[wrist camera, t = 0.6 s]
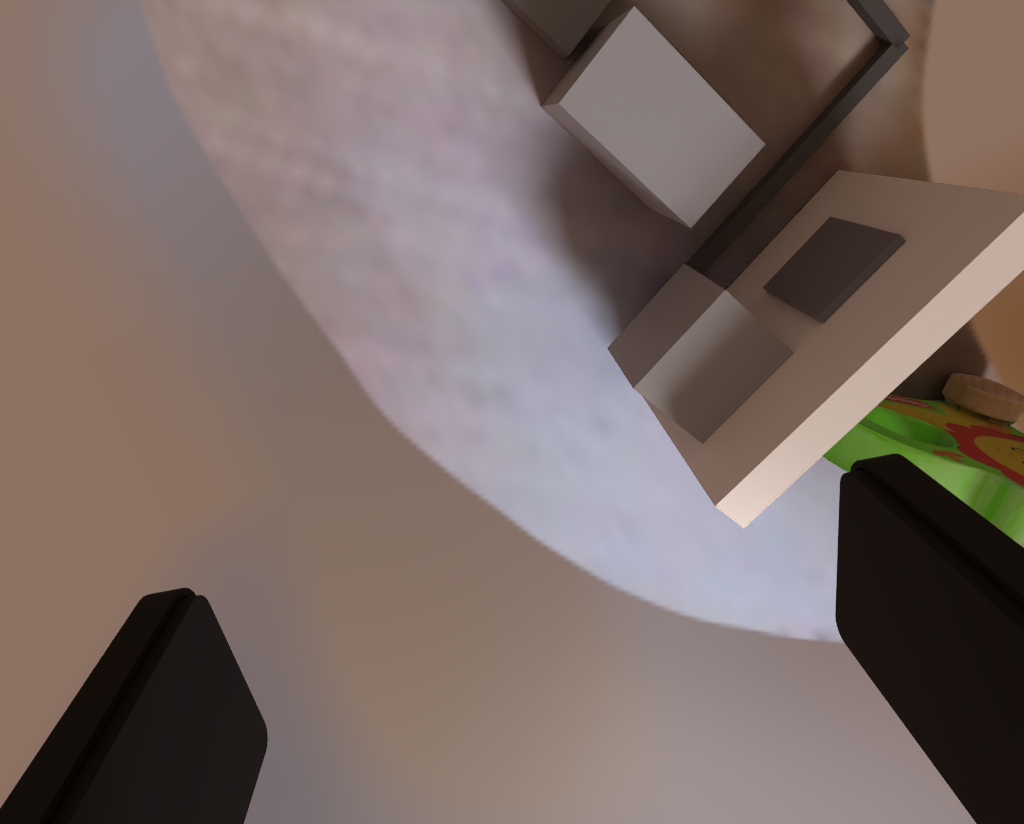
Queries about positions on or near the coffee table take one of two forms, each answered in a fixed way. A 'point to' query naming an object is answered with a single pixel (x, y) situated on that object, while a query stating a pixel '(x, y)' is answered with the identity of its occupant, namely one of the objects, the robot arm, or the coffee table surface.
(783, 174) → the dark piece
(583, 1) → the charging cradle
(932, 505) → the robot arm
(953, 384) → the toy lion
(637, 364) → the plate
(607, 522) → the coffee table surface
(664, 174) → the grey rectangular block
